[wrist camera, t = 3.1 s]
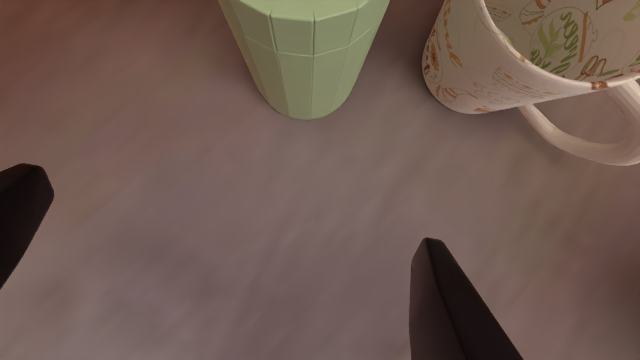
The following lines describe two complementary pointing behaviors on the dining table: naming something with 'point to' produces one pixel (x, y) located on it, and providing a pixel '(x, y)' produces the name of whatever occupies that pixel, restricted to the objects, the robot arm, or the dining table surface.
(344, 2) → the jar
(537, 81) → the mug
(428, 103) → the dining table surface
